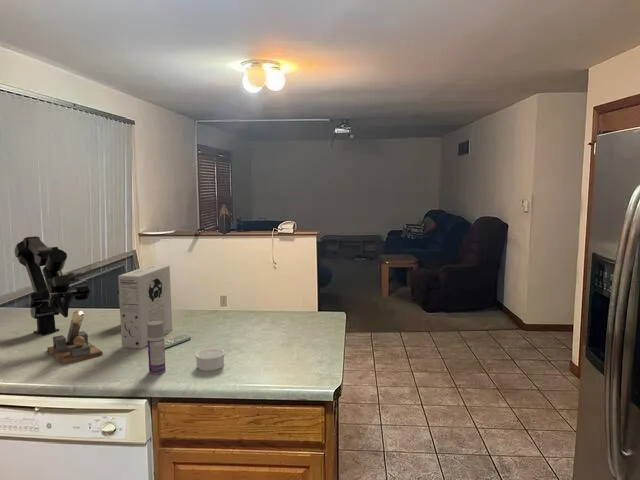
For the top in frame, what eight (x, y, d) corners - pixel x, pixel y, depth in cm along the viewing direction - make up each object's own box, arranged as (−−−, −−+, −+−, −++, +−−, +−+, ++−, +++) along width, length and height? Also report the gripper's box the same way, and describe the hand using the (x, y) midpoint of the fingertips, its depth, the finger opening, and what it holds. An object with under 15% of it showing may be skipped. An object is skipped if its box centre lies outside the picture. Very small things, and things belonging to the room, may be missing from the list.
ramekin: (226, 370, 155) (226, 356, 154) (196, 373, 153) (195, 359, 152) (223, 360, 163) (223, 346, 163) (195, 363, 161) (194, 349, 160)
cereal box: (154, 329, 197) (151, 264, 193) (172, 330, 195) (169, 265, 192) (121, 347, 176) (117, 275, 172) (141, 349, 174) (138, 276, 171)
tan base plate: (47, 350, 173) (46, 330, 172) (84, 342, 181) (83, 323, 180) (63, 364, 160) (61, 342, 159) (102, 355, 168) (101, 334, 167)
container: (151, 368, 156) (148, 320, 154) (167, 368, 156) (164, 320, 155) (147, 374, 151) (145, 325, 150) (163, 374, 152) (161, 324, 150)
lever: (63, 341, 173) (70, 311, 164) (74, 339, 175) (82, 309, 166) (66, 349, 171) (73, 319, 162) (77, 346, 174) (85, 317, 164)
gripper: (27, 269, 169) (39, 308, 163) (87, 262, 182) (100, 299, 175) (23, 288, 176) (34, 327, 169) (80, 280, 188) (93, 316, 182)
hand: (66, 316), depth 174 cm, fingers closed
